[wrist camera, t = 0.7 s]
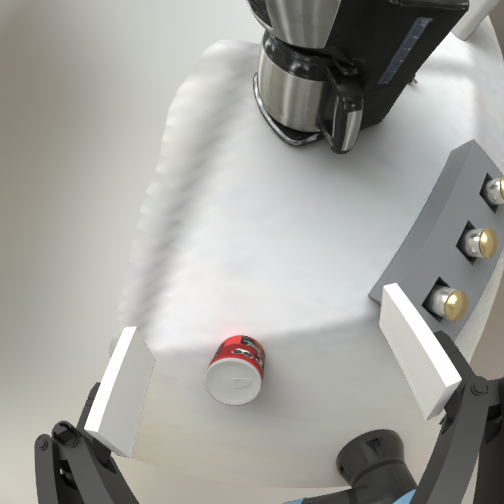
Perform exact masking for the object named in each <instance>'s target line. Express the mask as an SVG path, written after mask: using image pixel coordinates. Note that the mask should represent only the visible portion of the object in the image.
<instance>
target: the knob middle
mask: <svg viewBox="0 0 504 504" xmlns="http://www.w3.org/2000/svg"><path fill="white" fill-rule="evenodd" d="M456 247H457V249H458V250H459V251H460V252H461V253H462V254H463V255H464V256H469V257H483V258H492V257H493V256H494V255H495V254H496V252H497V248H498V238H497V235H496V233H495V231H494V230H493V229H491V228H483V229H469V230H463V232H462V234H461V236H460V238H459V240H458V242H457V244H456Z"/></svg>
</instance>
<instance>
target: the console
mask: <svg viewBox="0 0 504 504" xmlns="http://www.w3.org/2000/svg"><path fill="white" fill-rule="evenodd" d="M503 176H504V175H503V174H502V173H501V171H500V170H499V169H498V168H497V166H496V165H495V164H494V163H493V161H492V160H491V159H490V158H489V156H488V155H487V154H486V153H485V152H484V150H483V149H482V148H481V147H480V146H479V145H478V144H477V142H476V141H475V140H474V139H473V140H471V141H469V142H467V143H465V144H463V145H462V146H460V147H458V148H456V149H454V150H452V151H451V153H450V155H449V158H448V160H447V162H446V164H445V166H444V168H443V170H442V173H441V175H440V177H439V179H438V181H437V183H436V185H435V187H434V189H433V191H432V192H431V194H430V196H429V198H428V200H427V202H426V204H425V206H424V207H423V209H422V211H421V213H420V215H419V216H418V218H417V220H416V222H415V223H414V225H413V227H412V228H411V230H410V232H409V234H408V235H407V237H406V239H405V240H404V242H403V243H402V245H401V247H400V248H399V250H398V251H397V253H396V255H395V256H394V258H393V259H392V261H391V262H390V264H389V265H388V267H387V268H386V270H385V271H384V273H383V274H382V276H381V277H380V279H379V280H378V282H377V283H376V284H375V286H374V287H373V289H372V290H371V292H370V293H369V294H368V295H369V296H370V297H371V298H372V299H374V300H375V301H376V302H377V303H378V304H380V305H381V304H382V295H383V286H385V285H389V284H394V283H397V285H398V286H399V287H400V289H401V290H402V291H403V293H404V294H405V295H406V297H407V298H408V299H409V301H410V302H411V303H412V305H413V306H414V307H415V309H416V310H417V312H418V313H419V314H420V316H421V317H422V319H423V320H424V321H425V323H426V324H427V326H428V327H429V329H430V330H431V332H432V333H434V332H437V331H440V330H442V331H443V332H444V333H446V334H447V335H449V336H450V338H451V339H452V341H453V342H454V341H455V339H456V338H457V336H458V335H459V333H460V331H461V330H462V328H463V327H464V325H465V323H466V322H467V320H468V318H469V317H470V315H471V313H472V311H473V310H474V308H475V306H476V304H477V303H478V301H479V299H480V297H481V295H482V293H483V291H484V289H485V287H486V285H487V283H488V281H489V279H490V277H491V275H492V273H493V270H494V268H495V266H496V264H497V261H498V259H499V257H500V254H501V252H502V249H503V247H504V204H500V205H494V206H488V205H487V203H486V202H485V201H484V200H483V198H482V197H481V196H480V195H479V193H480V190H481V188H482V185H483V182H486V181H490V180H493V179H497V178H500V177H503ZM483 228H491V229H493V230H494V231H495V233H496V235H497V238H498V248H497V252H496V254H495V255H494V256H493V257H492V258H483V257H469V256H464V255H463V254H462V253H461V252H460V251H459V250H458V249H457V247H456V244H457V242H458V240H459V238H460V236H461V234H462V232H463V230H469V229H483ZM434 284H437V285H441V286H445V287H448V288H452V289H456V290H460V291H463V292H465V293H466V295H467V297H468V308H467V311H466V313H465V315H464V316H463V318H462V319H460V320H459V321H456V322H453V321H450V320H448V319H446V318H444V317H441V316H439V315H437V314H435V313H432V312H430V311H428V310H426V309H425V308H424V307H423V305H422V303H423V301H424V300H425V298H426V297H427V295H428V294H429V292H430V290H431V289H432V287H433V286H434Z"/></svg>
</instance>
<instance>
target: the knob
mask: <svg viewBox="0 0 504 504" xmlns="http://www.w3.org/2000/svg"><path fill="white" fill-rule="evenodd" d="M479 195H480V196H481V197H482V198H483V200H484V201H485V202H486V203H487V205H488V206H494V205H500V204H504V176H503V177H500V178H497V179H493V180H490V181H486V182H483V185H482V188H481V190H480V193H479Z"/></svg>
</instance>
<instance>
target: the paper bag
mask: <svg viewBox="0 0 504 504" xmlns="http://www.w3.org/2000/svg"><path fill="white" fill-rule="evenodd" d="M499 1H500V0H469V4H470V5H469V10H468V11H467V12H466V13H465V14H464V16H463V17H462V18H461V19H460V20H459V22H458V23H457V24H456V25H455V26H454V27H453V29H452V30H451V32H452V33H453V34H454V35H455V36H456V37H457V38H459V39H461V40H463V41H465V40H466V39H467V37H468V36H469V35H470V34H471V33H472V32H473V31H474V29H475V28H476V27H477V26H478V25H479V24H480V23H481V22H482V20H483V19H484V18H485V17H486V16H487V15H488V14H489V12H490V11H491V10H492V9H493V8H494V7H495V5H496V4H497V3H498V2H499Z"/></svg>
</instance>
